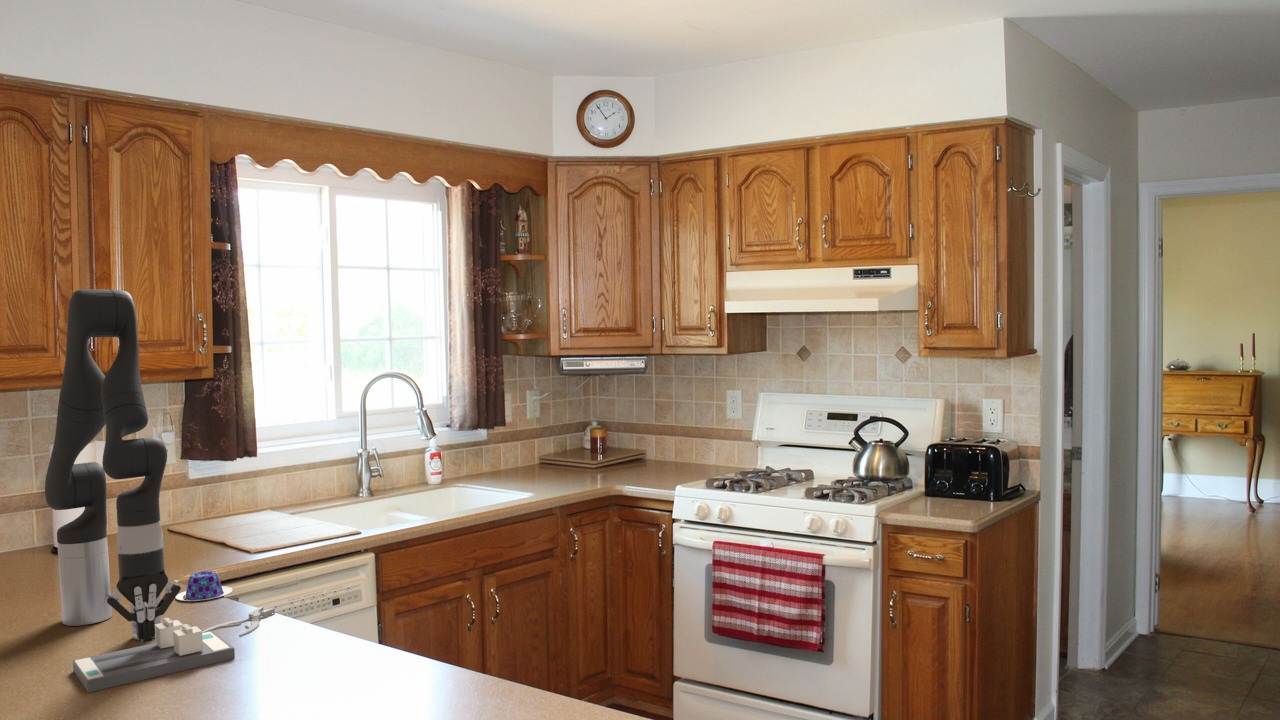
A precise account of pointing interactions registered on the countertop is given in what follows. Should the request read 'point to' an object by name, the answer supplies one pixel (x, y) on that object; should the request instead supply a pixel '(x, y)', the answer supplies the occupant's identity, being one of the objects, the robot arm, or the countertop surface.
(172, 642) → the tab
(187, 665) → the switch panel
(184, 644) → the tab
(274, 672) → the countertop surface
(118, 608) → the robot arm
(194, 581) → the pudding
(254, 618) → the pliers
